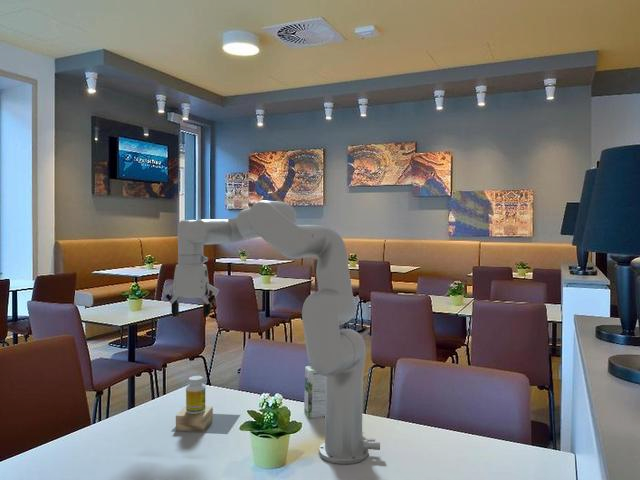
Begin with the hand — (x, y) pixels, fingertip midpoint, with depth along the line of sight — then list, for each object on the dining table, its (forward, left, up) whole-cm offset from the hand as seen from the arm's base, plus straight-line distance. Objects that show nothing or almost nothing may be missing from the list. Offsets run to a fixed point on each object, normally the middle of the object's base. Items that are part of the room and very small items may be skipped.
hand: (191, 316), depth 155 cm
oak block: (-5, +11, -29) cm, 32 cm away
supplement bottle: (-5, +11, -25) cm, 28 cm away
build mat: (-8, +9, -30) cm, 33 cm away
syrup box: (-38, -4, -31) cm, 49 cm away
